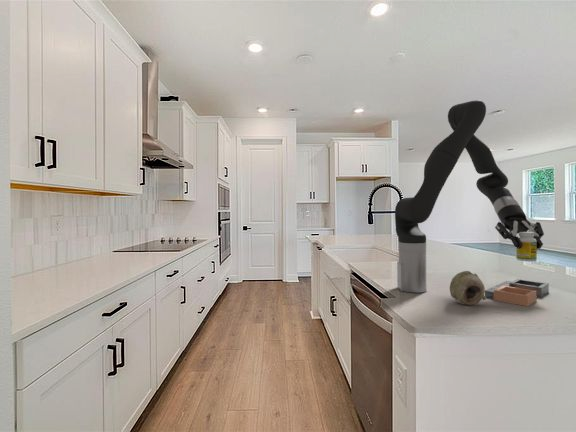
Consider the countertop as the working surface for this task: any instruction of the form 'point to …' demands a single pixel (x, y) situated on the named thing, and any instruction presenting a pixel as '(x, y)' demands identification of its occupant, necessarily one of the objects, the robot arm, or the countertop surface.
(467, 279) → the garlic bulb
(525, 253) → the supplement bottle
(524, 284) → the rail
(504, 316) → the countertop surface
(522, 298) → the marked socket
